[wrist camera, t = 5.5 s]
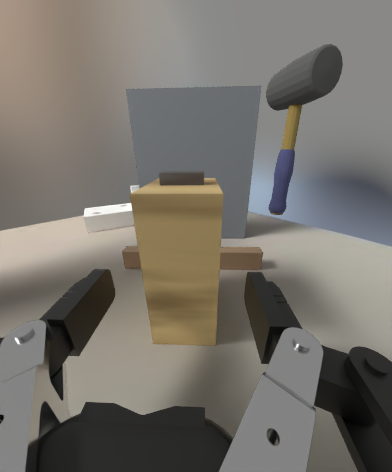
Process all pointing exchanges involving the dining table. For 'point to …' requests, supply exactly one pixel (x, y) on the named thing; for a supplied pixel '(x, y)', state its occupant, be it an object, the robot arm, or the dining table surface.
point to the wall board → (200, 150)
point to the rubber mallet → (299, 106)
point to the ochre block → (180, 255)
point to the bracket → (109, 216)
